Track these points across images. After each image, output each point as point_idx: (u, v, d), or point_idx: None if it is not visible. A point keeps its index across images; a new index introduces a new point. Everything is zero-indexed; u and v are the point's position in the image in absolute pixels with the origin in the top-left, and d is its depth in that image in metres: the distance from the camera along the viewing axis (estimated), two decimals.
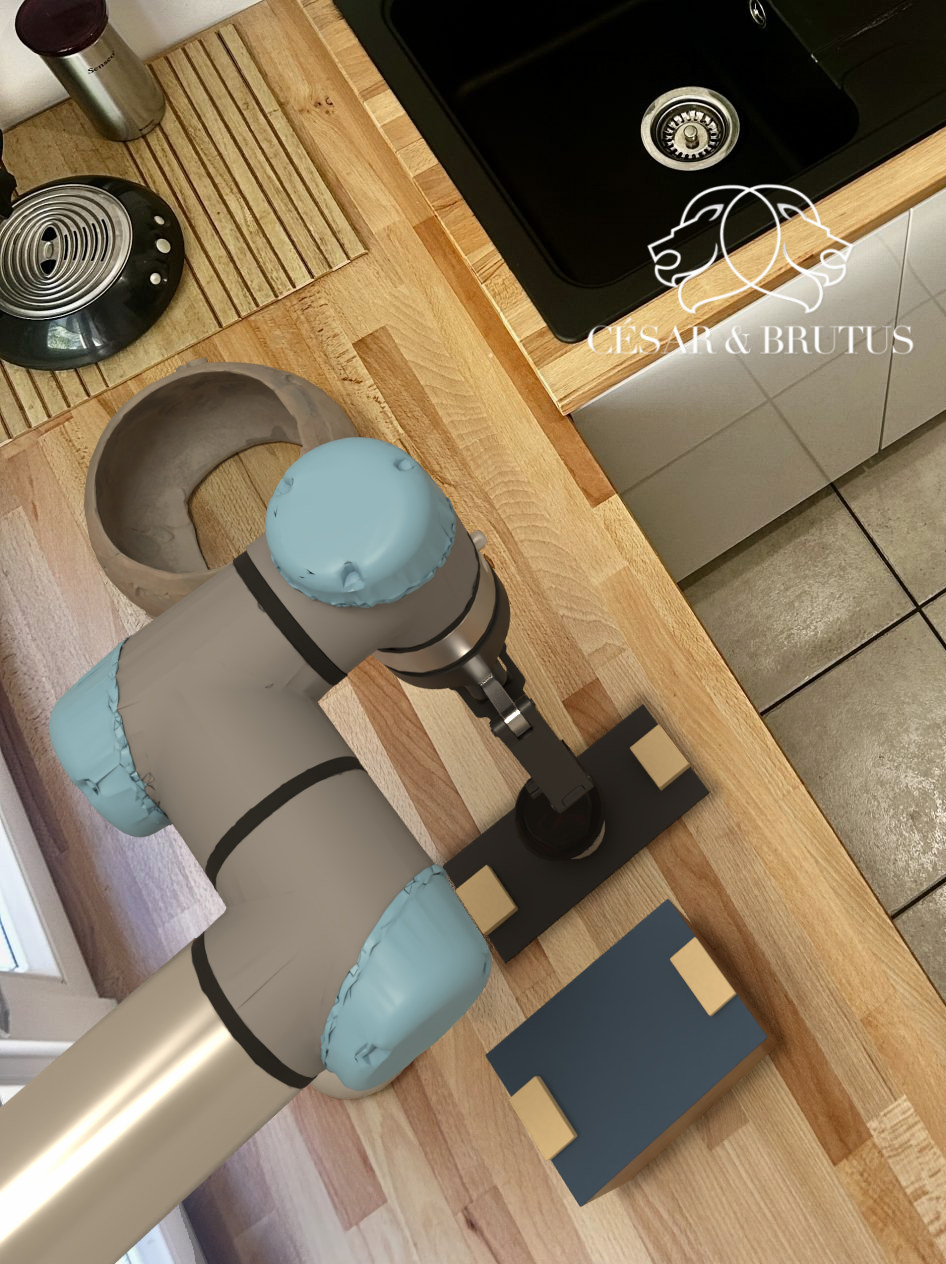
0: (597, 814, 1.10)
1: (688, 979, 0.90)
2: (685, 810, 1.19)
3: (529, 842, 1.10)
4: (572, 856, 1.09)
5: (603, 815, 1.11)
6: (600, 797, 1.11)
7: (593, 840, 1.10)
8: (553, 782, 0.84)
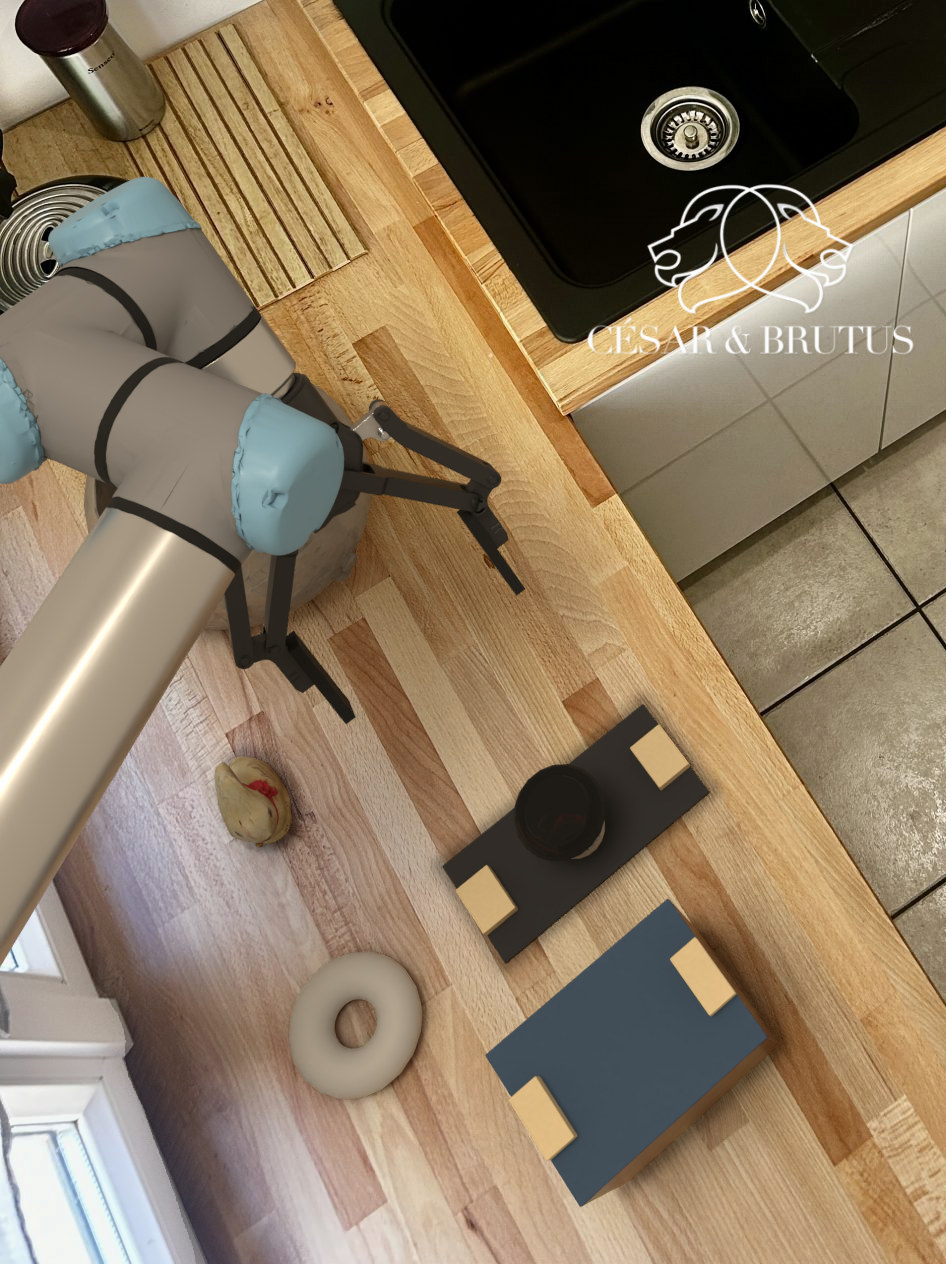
0: (597, 814, 1.10)
1: (688, 979, 0.90)
2: (685, 810, 1.19)
3: (529, 842, 1.10)
4: (572, 856, 1.09)
5: (603, 815, 1.11)
6: (600, 797, 1.11)
7: (593, 840, 1.10)
8: (464, 454, 0.99)
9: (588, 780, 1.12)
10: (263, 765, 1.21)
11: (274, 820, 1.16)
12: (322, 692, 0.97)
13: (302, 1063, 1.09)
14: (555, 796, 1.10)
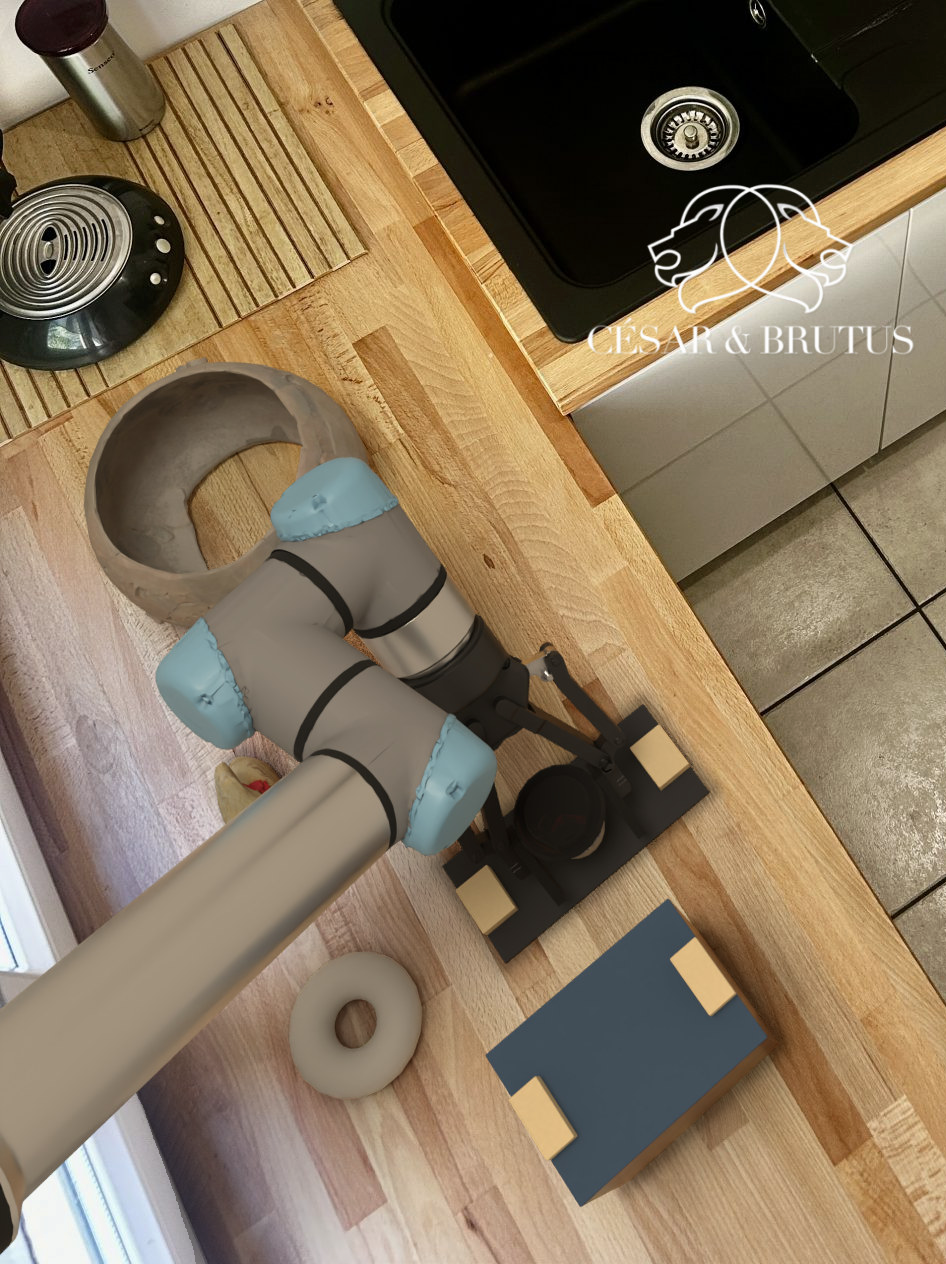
0: (597, 814, 1.10)
1: (688, 979, 0.90)
2: (685, 810, 1.19)
3: (529, 842, 1.10)
4: (572, 856, 1.09)
5: (603, 815, 1.11)
6: (600, 797, 1.11)
7: (593, 840, 1.10)
8: (603, 711, 1.13)
9: (588, 780, 1.12)
10: (263, 765, 1.21)
11: None
12: (539, 880, 1.11)
13: (302, 1063, 1.09)
14: (555, 796, 1.10)
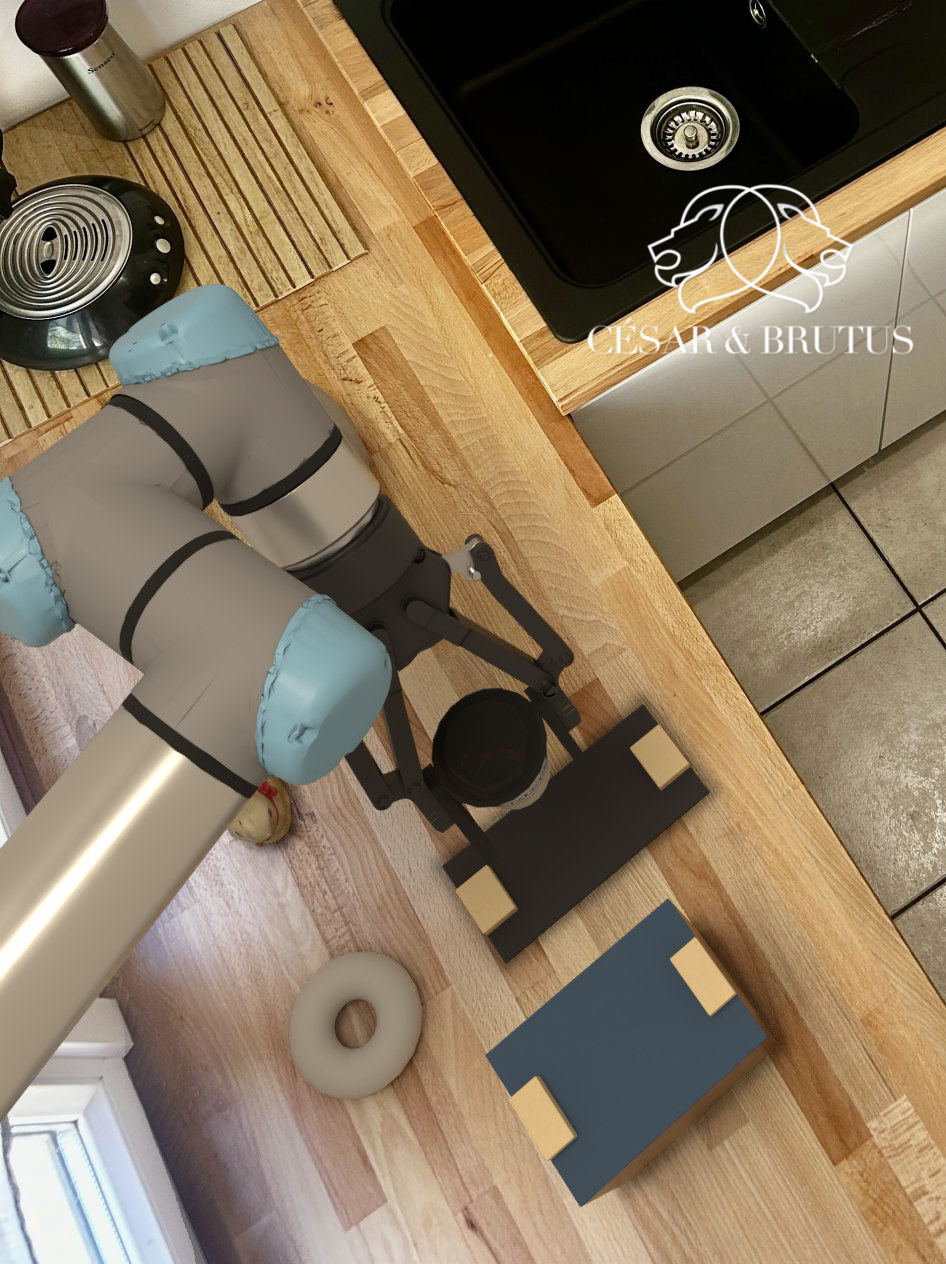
0: (536, 749, 0.88)
1: (688, 979, 0.90)
2: (685, 810, 1.19)
3: (450, 783, 0.87)
4: (504, 801, 0.87)
5: (544, 750, 0.88)
6: (540, 728, 0.88)
7: (531, 781, 0.87)
8: (545, 621, 0.90)
9: (526, 707, 0.89)
10: None
11: (274, 820, 1.16)
12: (464, 832, 0.89)
13: (302, 1063, 1.09)
14: (483, 726, 0.88)
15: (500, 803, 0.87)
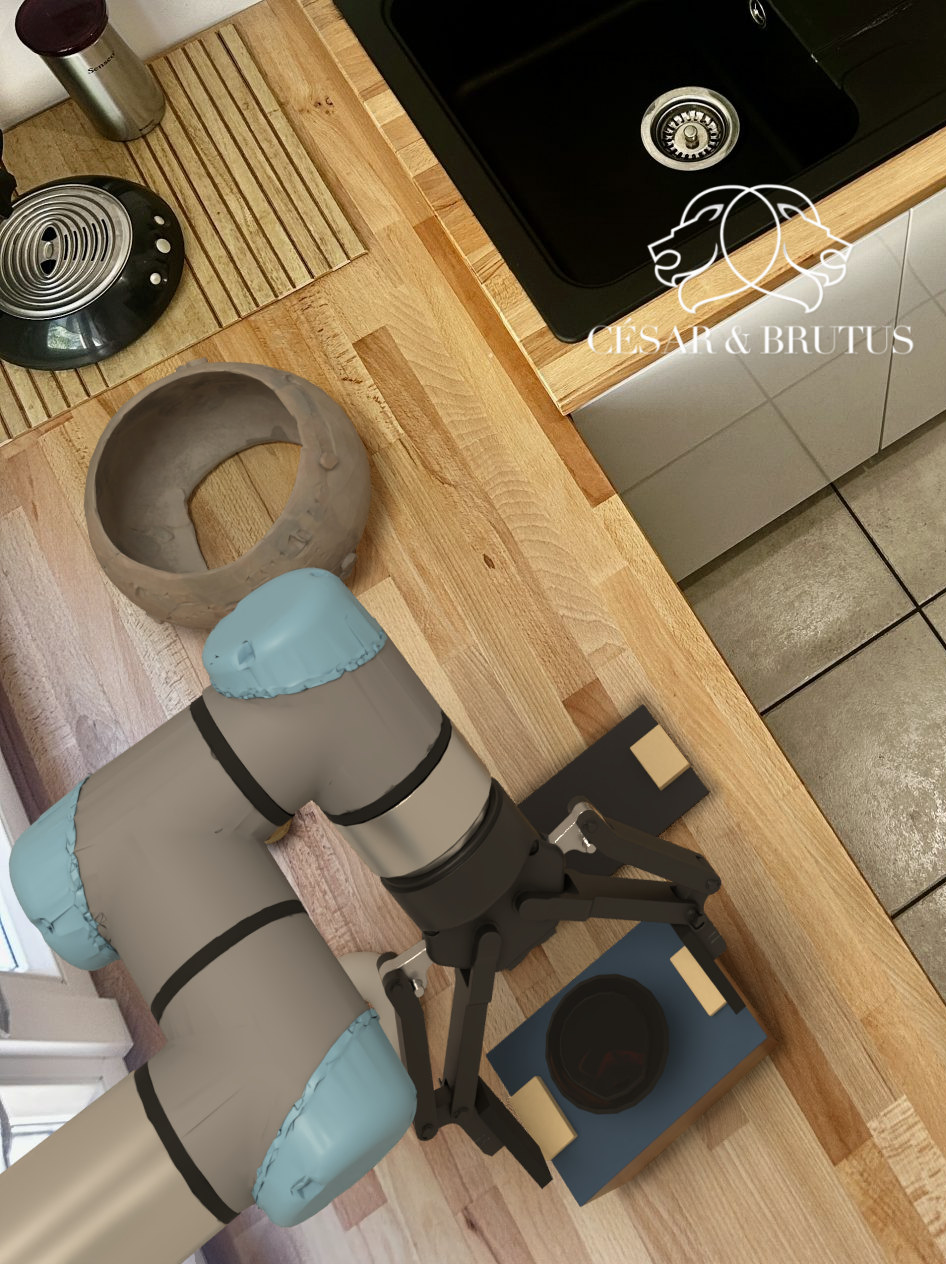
0: (658, 1048, 0.82)
1: (688, 979, 0.90)
2: (685, 810, 1.19)
3: (567, 1088, 0.81)
4: (625, 1108, 0.81)
5: (666, 1048, 0.82)
6: (662, 1023, 0.82)
7: (653, 1084, 0.81)
8: (679, 855, 0.83)
9: (645, 998, 0.83)
10: None
11: None
12: (515, 1156, 0.80)
13: None
14: (602, 1024, 0.81)
15: (621, 1110, 0.81)
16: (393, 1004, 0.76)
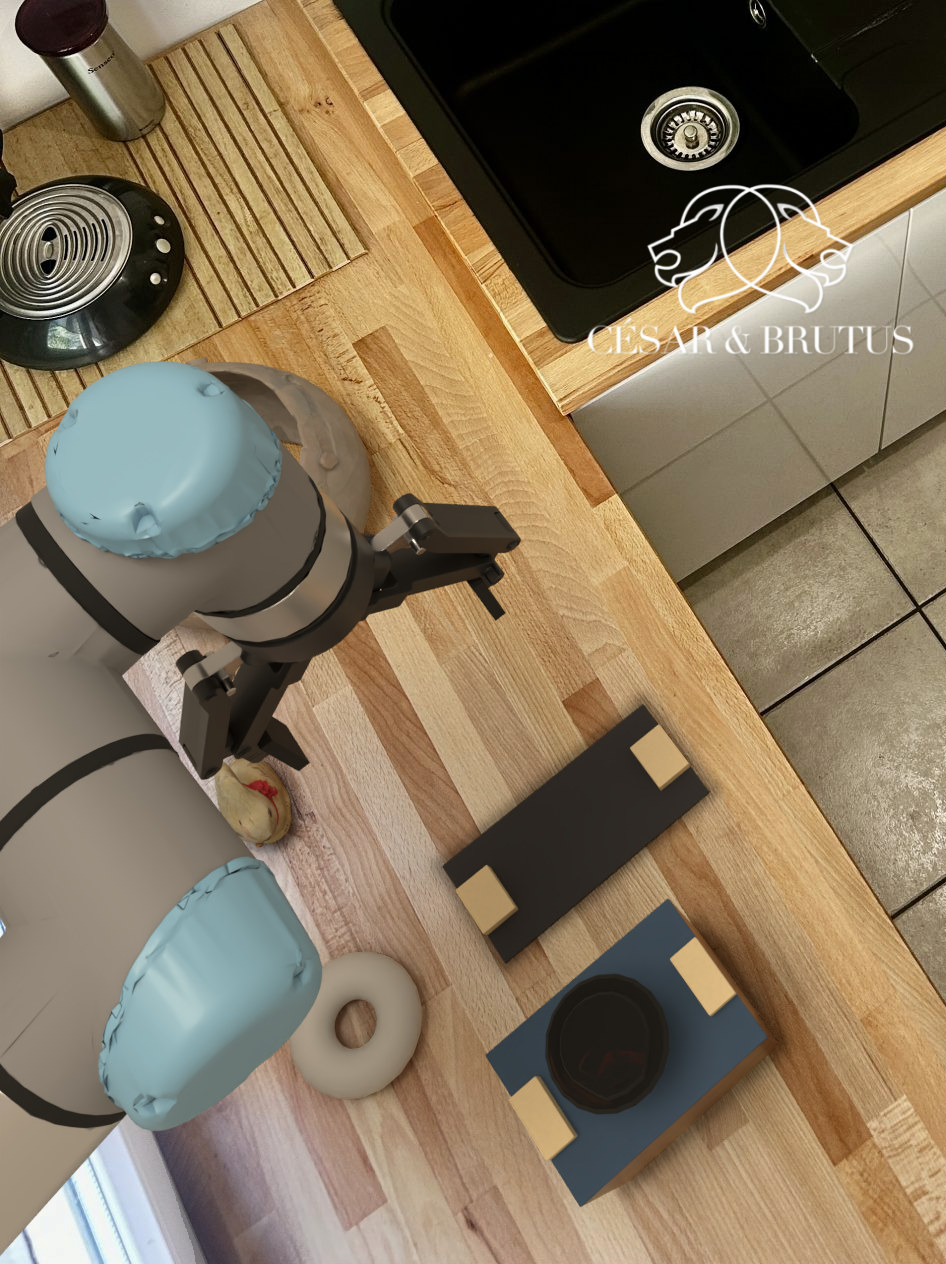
0: (658, 1048, 0.82)
1: (688, 979, 0.90)
2: (685, 810, 1.19)
3: (567, 1088, 0.81)
4: (625, 1108, 0.81)
5: (666, 1048, 0.82)
6: (662, 1023, 0.82)
7: (653, 1084, 0.81)
8: (488, 527, 0.80)
9: (645, 998, 0.83)
10: (263, 765, 1.21)
11: (274, 820, 1.16)
12: (283, 761, 0.82)
13: (302, 1063, 1.09)
14: (602, 1024, 0.81)
15: (621, 1110, 0.81)
16: (205, 708, 0.71)
